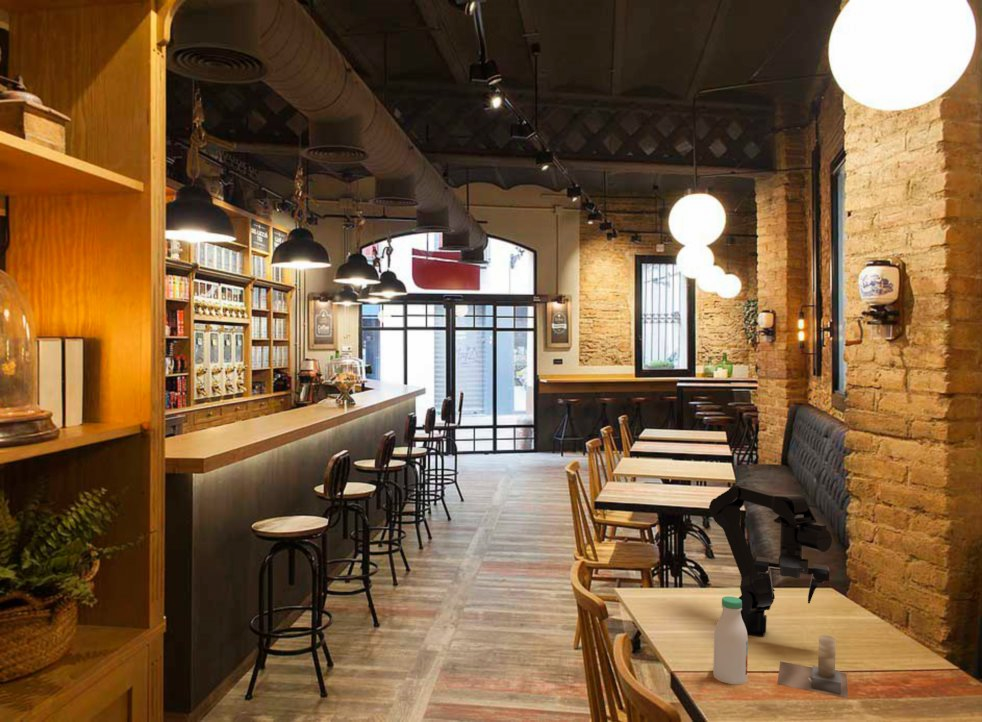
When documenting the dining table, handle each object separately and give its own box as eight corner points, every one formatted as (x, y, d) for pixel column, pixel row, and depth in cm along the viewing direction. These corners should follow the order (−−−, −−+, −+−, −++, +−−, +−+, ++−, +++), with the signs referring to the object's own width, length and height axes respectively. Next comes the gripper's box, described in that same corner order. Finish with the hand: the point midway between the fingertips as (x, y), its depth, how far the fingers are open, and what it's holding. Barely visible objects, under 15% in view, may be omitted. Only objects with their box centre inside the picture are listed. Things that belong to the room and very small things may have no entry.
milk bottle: (742, 692, 167) (744, 607, 167) (709, 683, 171) (711, 600, 171) (750, 679, 173) (752, 597, 173) (717, 671, 177) (719, 591, 177)
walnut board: (777, 689, 169) (777, 684, 169) (780, 666, 181) (780, 661, 181) (848, 703, 162) (848, 698, 162) (846, 678, 175) (846, 673, 175)
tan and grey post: (812, 688, 167) (813, 641, 167) (812, 676, 173) (813, 630, 173) (840, 693, 164) (841, 646, 164) (839, 681, 171) (841, 635, 171)
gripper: (751, 544, 189) (750, 603, 189) (830, 554, 181) (828, 616, 181) (755, 535, 199) (754, 591, 199) (829, 544, 191) (828, 602, 191)
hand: (790, 600), depth 192 cm, fingers open, 9 cm apart
